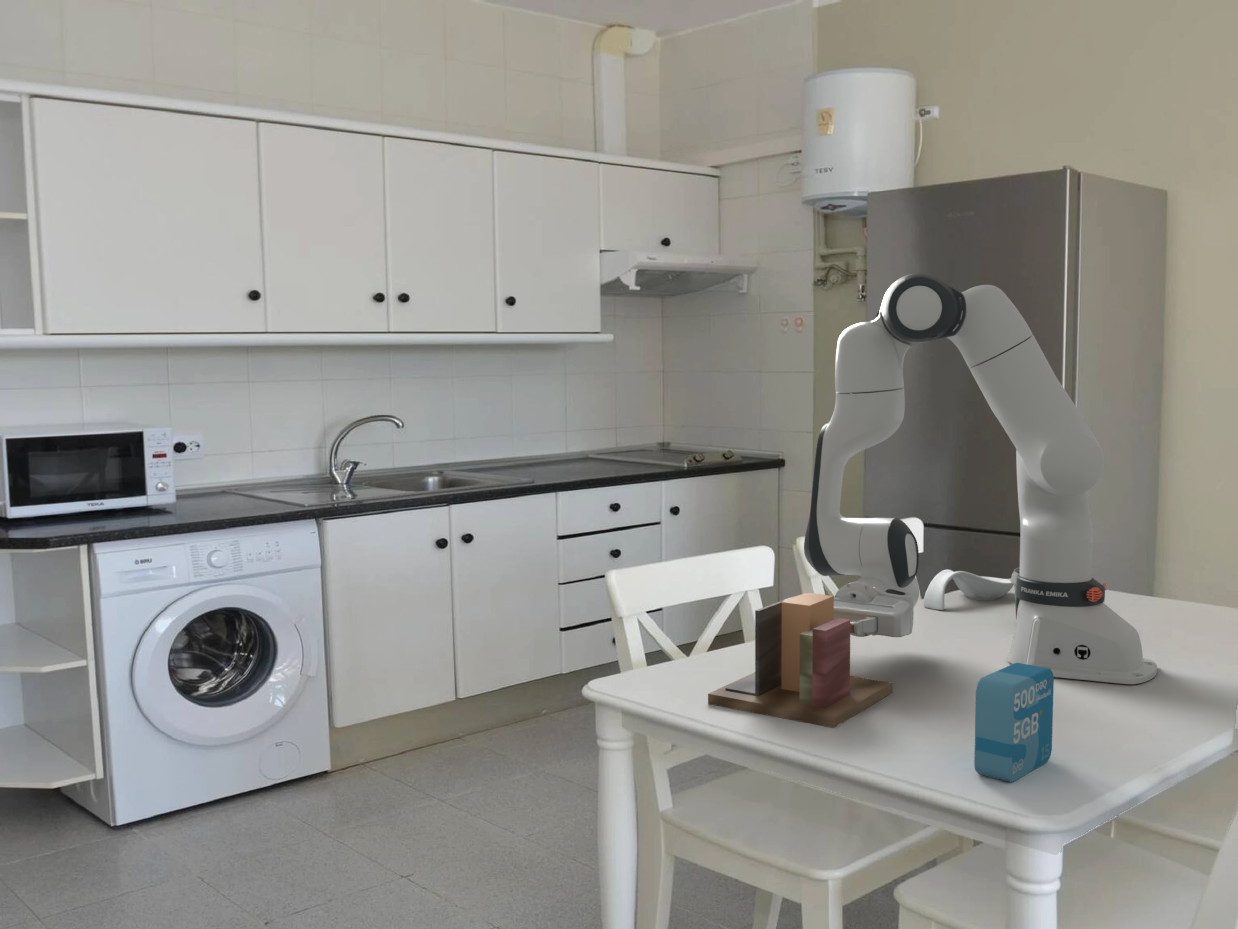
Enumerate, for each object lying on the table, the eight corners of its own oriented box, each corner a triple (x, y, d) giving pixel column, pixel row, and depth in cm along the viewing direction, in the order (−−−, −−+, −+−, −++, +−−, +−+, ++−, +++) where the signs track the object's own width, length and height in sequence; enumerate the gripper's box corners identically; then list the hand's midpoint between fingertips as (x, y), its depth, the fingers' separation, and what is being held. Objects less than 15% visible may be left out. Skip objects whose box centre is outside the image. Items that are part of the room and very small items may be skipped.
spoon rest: (974, 589, 255) (974, 556, 255) (1024, 597, 247) (1025, 563, 246) (908, 606, 240) (908, 570, 239) (960, 615, 231) (960, 579, 230)
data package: (1008, 786, 142) (1011, 686, 141) (973, 777, 145) (975, 679, 144) (1052, 760, 150) (1054, 666, 149) (1017, 752, 154) (1020, 659, 152)
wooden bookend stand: (892, 692, 180) (893, 600, 179) (833, 727, 164) (834, 626, 162) (773, 672, 192) (773, 586, 190) (708, 703, 175) (707, 609, 174)
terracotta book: (833, 681, 181) (833, 596, 180) (809, 693, 175) (809, 605, 173) (806, 676, 184) (806, 592, 182) (781, 689, 177) (781, 602, 176)
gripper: (803, 582, 199) (763, 596, 188) (922, 595, 187) (886, 612, 176) (803, 619, 200) (763, 636, 189) (921, 635, 188) (886, 654, 177)
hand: (823, 624), depth 182 cm, fingers open, 8 cm apart
